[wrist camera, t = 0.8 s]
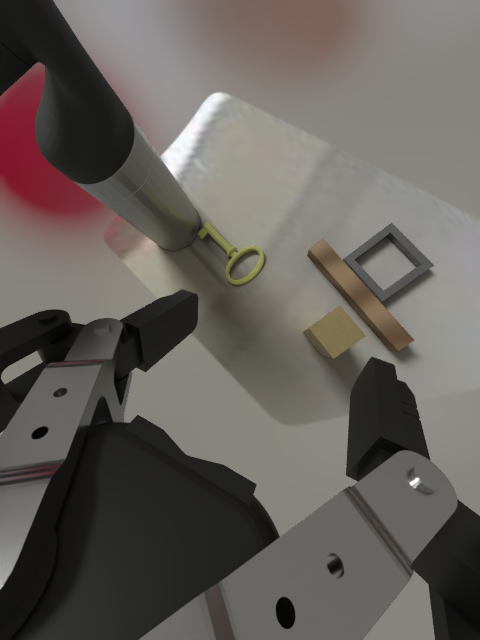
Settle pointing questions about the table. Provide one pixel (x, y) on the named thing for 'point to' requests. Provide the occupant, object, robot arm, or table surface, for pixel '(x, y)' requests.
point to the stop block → (334, 333)
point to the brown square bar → (359, 297)
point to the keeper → (403, 245)
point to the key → (233, 254)
